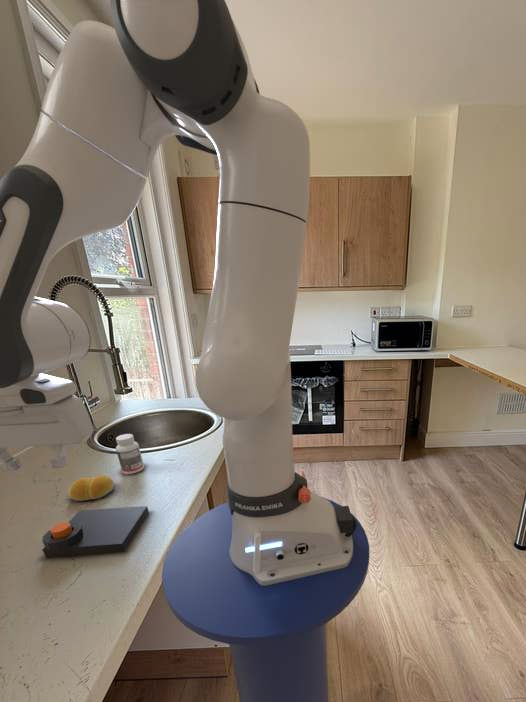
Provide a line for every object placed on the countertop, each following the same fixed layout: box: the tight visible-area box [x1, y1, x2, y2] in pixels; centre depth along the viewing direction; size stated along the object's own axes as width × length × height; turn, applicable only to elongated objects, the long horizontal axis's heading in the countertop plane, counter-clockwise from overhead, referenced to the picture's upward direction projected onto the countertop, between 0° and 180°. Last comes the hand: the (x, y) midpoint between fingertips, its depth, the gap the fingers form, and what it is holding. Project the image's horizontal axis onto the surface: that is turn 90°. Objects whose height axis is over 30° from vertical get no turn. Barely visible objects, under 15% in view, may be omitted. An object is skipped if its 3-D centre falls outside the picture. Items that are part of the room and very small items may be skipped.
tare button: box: [49, 521, 72, 539], centre depth 65 cm, size 3×3×2 cm
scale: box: [42, 505, 150, 558], centre depth 69 cm, size 14×12×4 cm
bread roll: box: [67, 475, 115, 502], centre depth 83 cm, size 8×9×4 cm
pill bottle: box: [115, 433, 145, 475], centre depth 92 cm, size 5×5×10 cm
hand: (37, 467), depth 60 cm, fingers open, 6 cm apart
